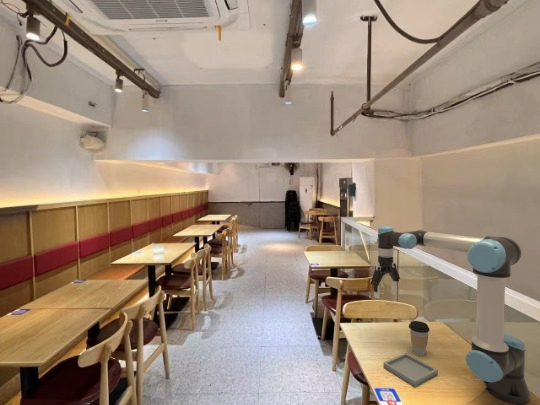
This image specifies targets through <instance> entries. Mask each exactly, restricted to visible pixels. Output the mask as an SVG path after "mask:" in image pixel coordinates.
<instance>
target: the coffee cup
mask: <svg viewBox="0 0 540 405" xmlns="http://www.w3.org/2000/svg"><path fill="white" fill-rule="evenodd" d="M408 328H409V330H410V332H409V333H410V341H411V342H410V343H411V347H412V348H411V349H412V353H413V354H414V355H415V356H416V357H422V358H423V357H425V356H426V354H427V347H428V341H429V332H430V330H431V329H430V326H429V325H428V324H427V323H426V322H423V321H419V320H412V321H410V323H408Z"/></svg>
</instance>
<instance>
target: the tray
mask: <svg viewBox="0 0 540 405" xmlns="http://www.w3.org/2000/svg"><path fill="white" fill-rule="evenodd" d="M382 364H383V365H382V366H383V369H385V370H386V371H387V372H389V373H391V374H393V375H394V376H396V377H397V378H399V379H401V380H402V381H404V382H406V383H407V384H409V385H410V386H412V387H414V388H417V387H419V386H420V385H421V386H422V384H425V383H426V382H429V381H430V380H432V379H433V378H436V377H437V376H439V371H438V368H435V367H433V366H431V365H430V364H429V363H426V362H424V361H422V360H420V359H418V358H417V357H414V356H412V355H410V354H409V353H406V352H404V353H402V354H400V355H398V356H395V357H393V358H391V359H389V360H387V361H383V363H382Z"/></svg>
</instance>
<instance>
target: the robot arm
mask: <svg viewBox="0 0 540 405" xmlns="http://www.w3.org/2000/svg"><path fill="white" fill-rule="evenodd" d="M377 242H378V243H377V250H378V251H377V253H378V254H377V255H378V257H377V263H378V264H379V266H378V265H375V266H374V272H373V274H372V278H371V281H370V285H372V286H373V294H374V298H375V299H380V283H381V281H382V279H383V277H384V276H385V275H386V274H388V275H389V276H390V278H391V279H392V280H391V293H392V294H395V295H396V294H397V292H398V289H397V288H398V282H400V280H401V276H400V274H399V272H398V269H397V264H396V263H394V257H393V256H394V247H396V248H400V249H405V250H407V249H408V250H412V249H414V248H415V247H416V246H421V247H428V248H432V249H433V248H434V249H440V250H446V251H452V252H458V253H464V254H467V261H468V263H469V264H470V265H471V268H472V273H473V274H474V275H475V276H476V277H477V281H476V283H477V285H476V326H475V327H476V333H475V335H474V336H473V337H472V338H471V350H469V351H468V352H467V353H466V356H465V363H466V365H467V367H468V368H469V370H470V371H471V373H473V375H474V376H476V378H478V379H479V380H481V381H483V384H484V386H485V388H484V389H485V390H486V391H487V392H488V393H489V394H491V395H492V396H494V397H496V398H498V399H499V400H503V401H504V402H508V403H513V404H526V403H528V402H530V400H531V397H530V396H531V394H530V390H529V387H528V385H527V384H528V383H527V382H526V378H525V361H526V360H525V359H526V349H525V348H526V346H525V343H524V341H523V340H521V339H519V338H518V337H516V336H514V335H511V334H509V333H505V306H506V304H505V303H506V301H505V298H506V297H505V295H506V294H505V293H506V292H505V291H506V281H507V280H508V279H510V278H511V272H512V271H511V268H512V266H514V265H516V264H517V263H518V262H519V261H520V259H521V257H522V250H521V246H520V245H519V243H517V242H516V241H515V240H513V239H511V238H509V237H505V236H487V235H486V236H484V237H476V236H468V235H458V234H451V233H441V232H432V231H428V230H425V229H418V230H412V231H404V232H403V231H401V232H399V231H394V227H392V226H386V225H385V226H379V227H378V229H377Z"/></svg>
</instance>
